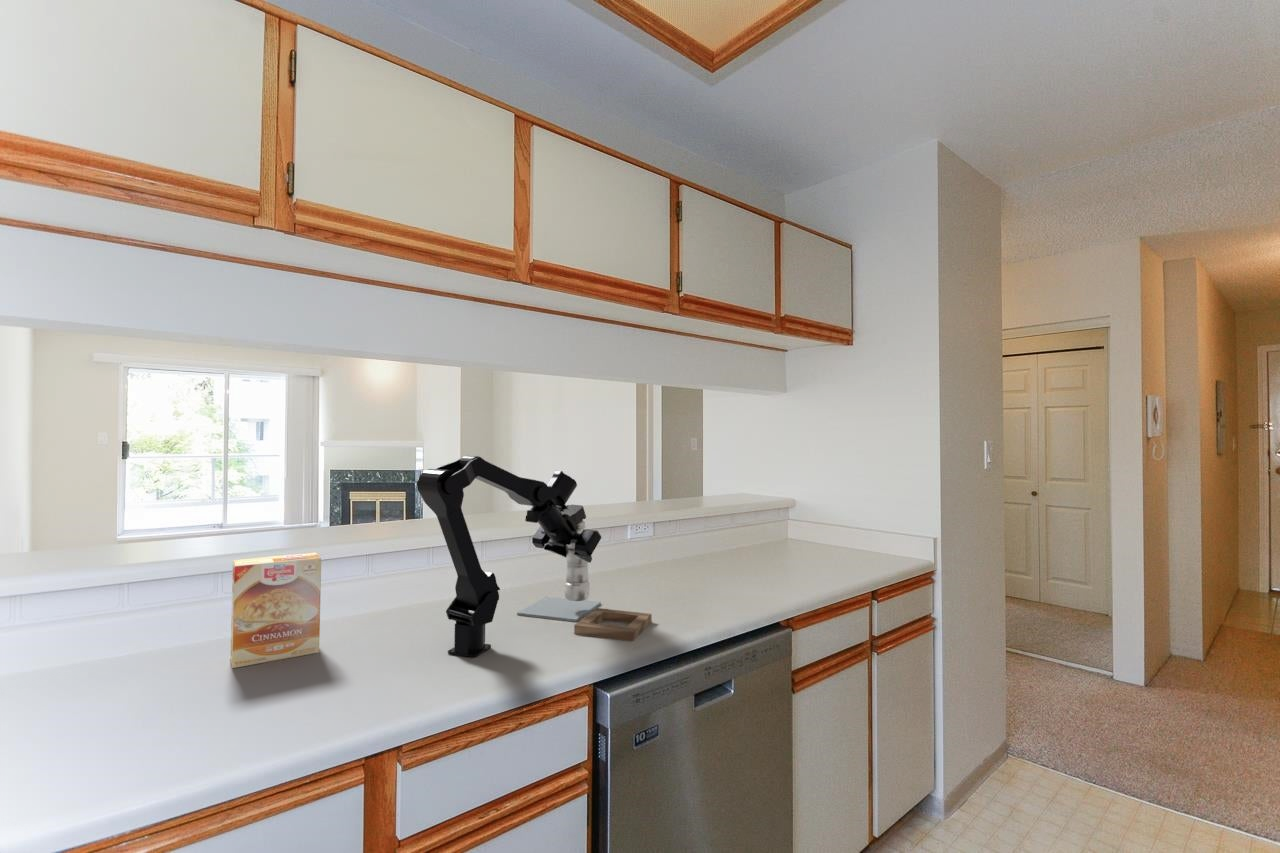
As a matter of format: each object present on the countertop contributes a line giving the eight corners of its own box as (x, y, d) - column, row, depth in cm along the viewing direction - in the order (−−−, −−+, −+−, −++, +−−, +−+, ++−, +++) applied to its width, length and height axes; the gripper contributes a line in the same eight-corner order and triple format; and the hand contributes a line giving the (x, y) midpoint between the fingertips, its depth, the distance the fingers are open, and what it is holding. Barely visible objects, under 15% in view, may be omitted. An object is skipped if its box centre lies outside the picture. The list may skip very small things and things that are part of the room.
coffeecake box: (231, 669, 114) (233, 565, 114) (229, 657, 120) (231, 559, 120) (320, 653, 123) (322, 556, 123) (315, 643, 128) (316, 551, 129)
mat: (576, 621, 145) (576, 619, 145) (516, 615, 150) (516, 612, 150) (600, 604, 160) (600, 601, 160) (546, 598, 165) (546, 596, 165)
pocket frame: (633, 640, 132) (633, 631, 132) (574, 633, 136) (574, 624, 136) (651, 622, 145) (651, 613, 145) (597, 616, 150) (597, 608, 150)
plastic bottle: (593, 598, 154) (594, 519, 155) (583, 605, 148) (585, 523, 148) (570, 596, 156) (571, 518, 156) (559, 602, 149) (560, 521, 150)
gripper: (597, 497, 144) (624, 538, 152) (541, 492, 155) (569, 530, 163) (574, 534, 137) (604, 575, 146) (517, 526, 148) (548, 564, 157)
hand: (581, 559), depth 153 cm, fingers closed on plastic bottle, 6 cm apart
